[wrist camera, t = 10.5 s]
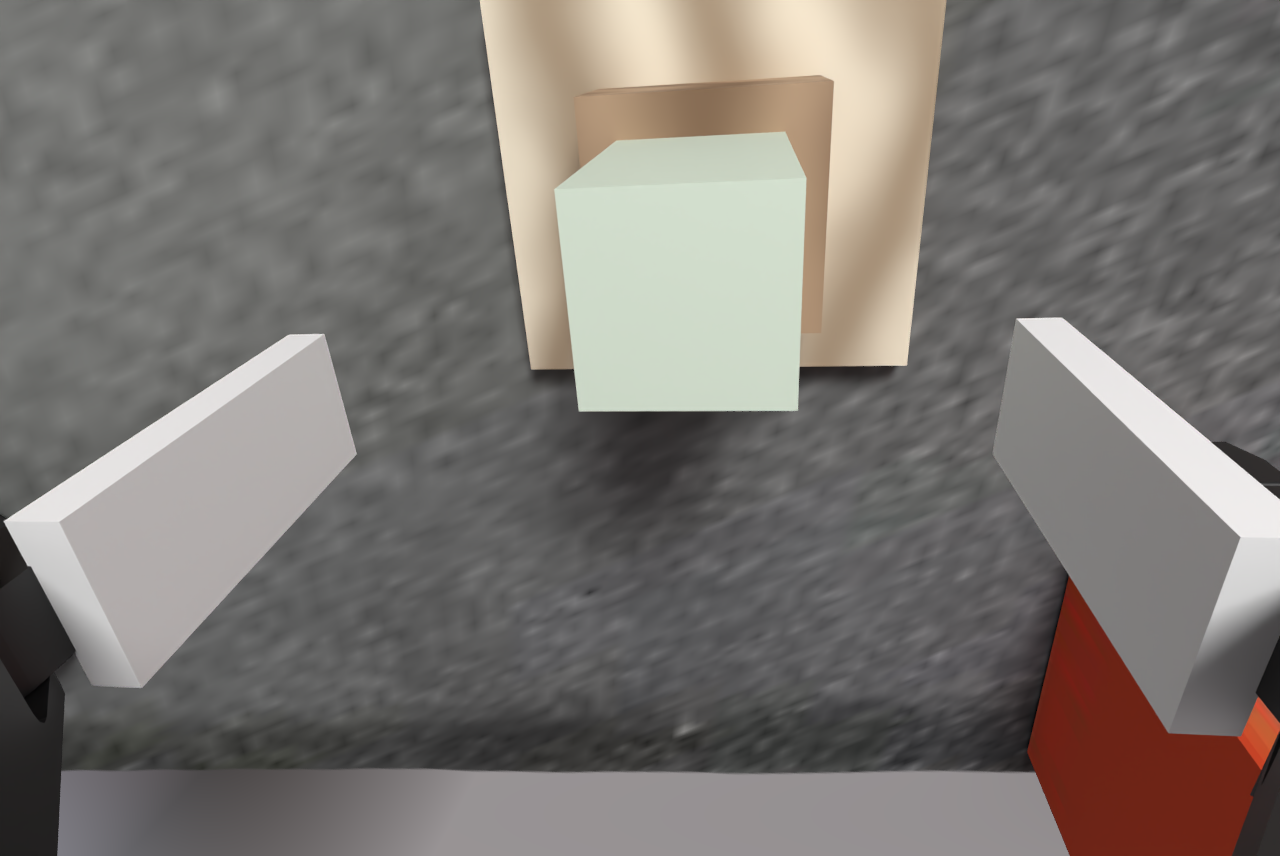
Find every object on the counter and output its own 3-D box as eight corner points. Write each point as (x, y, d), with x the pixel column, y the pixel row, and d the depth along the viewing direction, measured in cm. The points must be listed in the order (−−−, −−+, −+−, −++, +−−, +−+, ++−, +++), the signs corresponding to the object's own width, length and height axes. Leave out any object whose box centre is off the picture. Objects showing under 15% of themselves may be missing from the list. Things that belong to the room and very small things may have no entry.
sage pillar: (627, 301, 30) (578, 411, 21) (616, 140, 27) (554, 189, 18) (780, 297, 29) (797, 410, 20) (785, 131, 26) (806, 178, 17)
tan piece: (538, 358, 38) (502, 413, 33) (491, 2, 31) (434, -7, 25) (900, 353, 36) (930, 412, 30) (940, -35, 29) (990, -54, 23)
